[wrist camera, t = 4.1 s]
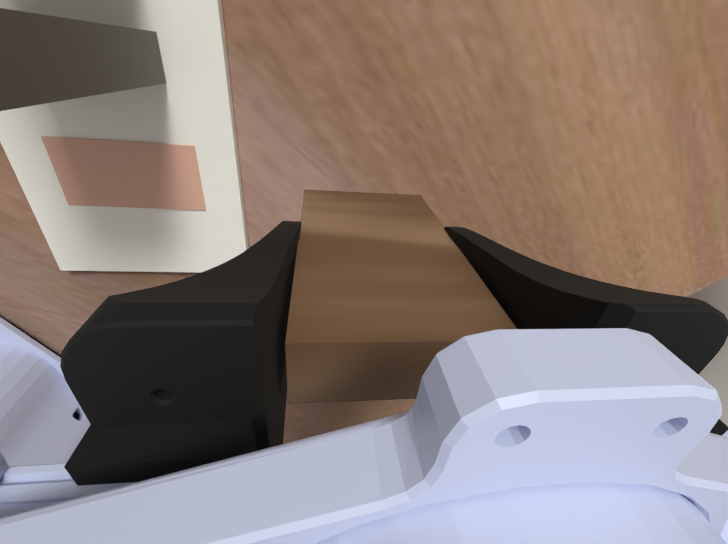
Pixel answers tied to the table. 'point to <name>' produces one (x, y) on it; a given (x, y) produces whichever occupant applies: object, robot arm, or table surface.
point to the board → (137, 150)
